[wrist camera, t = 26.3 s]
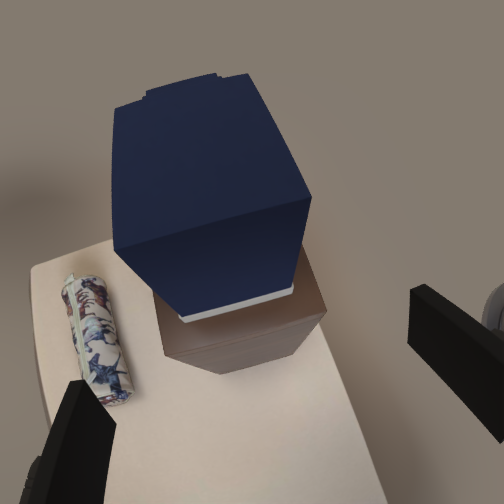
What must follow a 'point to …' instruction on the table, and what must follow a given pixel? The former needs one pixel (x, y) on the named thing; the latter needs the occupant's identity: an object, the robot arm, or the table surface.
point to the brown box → (245, 328)
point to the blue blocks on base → (206, 196)
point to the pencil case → (96, 339)
